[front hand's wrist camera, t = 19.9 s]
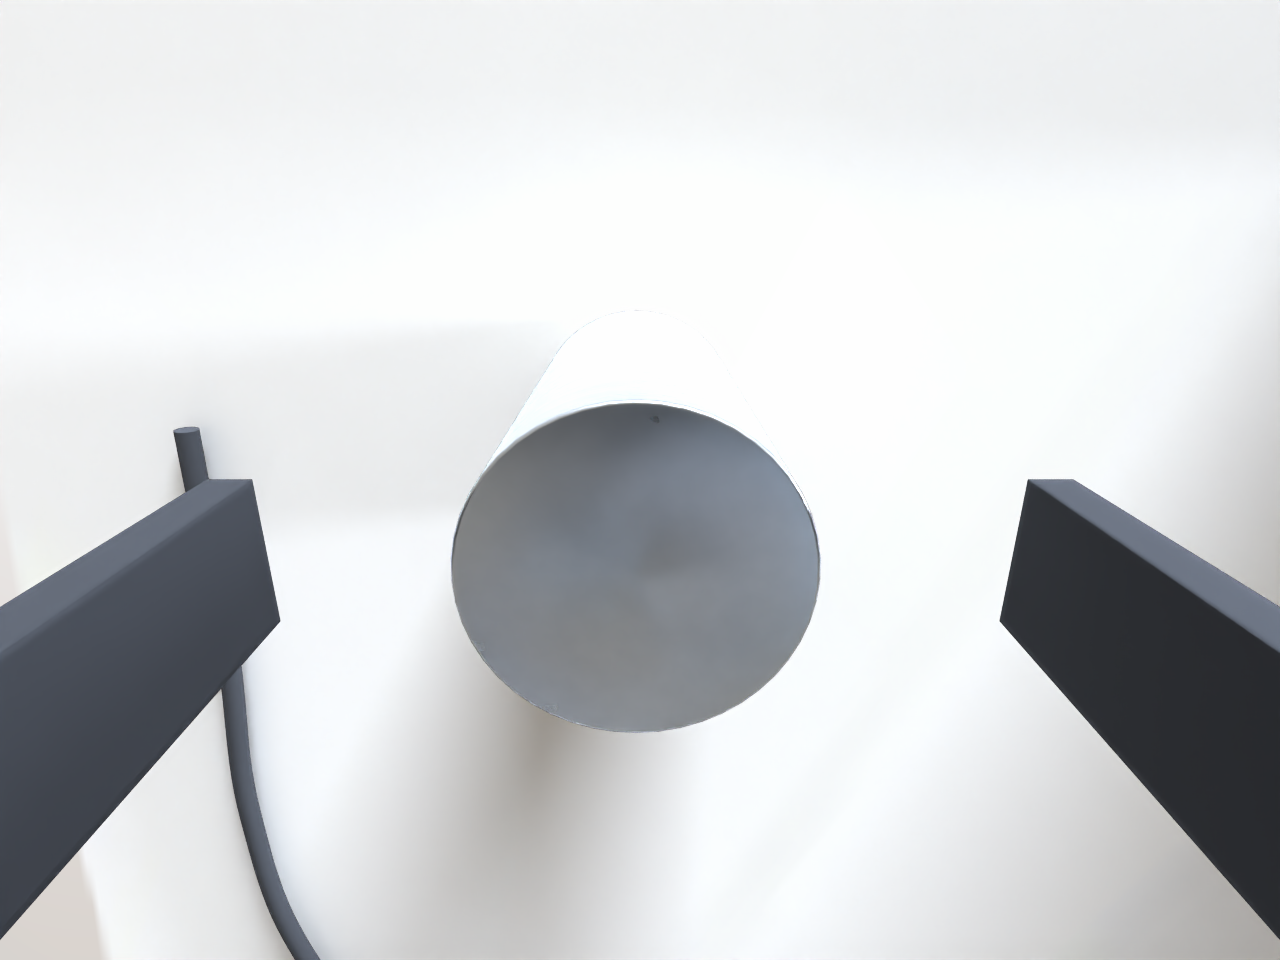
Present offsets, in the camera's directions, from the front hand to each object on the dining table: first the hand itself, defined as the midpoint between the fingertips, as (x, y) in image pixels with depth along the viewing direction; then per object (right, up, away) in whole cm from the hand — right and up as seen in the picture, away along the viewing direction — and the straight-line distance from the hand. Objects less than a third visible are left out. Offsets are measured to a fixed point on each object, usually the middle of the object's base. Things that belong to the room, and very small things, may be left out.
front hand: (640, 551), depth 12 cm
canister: (0, +4, +11) cm, 12 cm away
